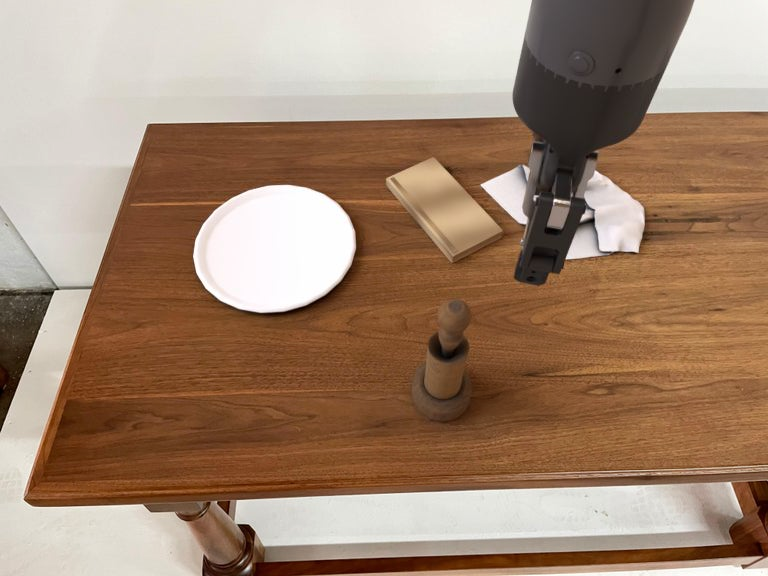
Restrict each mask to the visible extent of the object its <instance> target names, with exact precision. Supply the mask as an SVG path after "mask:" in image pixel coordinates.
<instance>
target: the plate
mask: <svg viewBox="0 0 768 576" xmlns="http://www.w3.org/2000/svg"><path fill="white" fill-rule="evenodd" d="M356 251H357V240H356V230H355V228H354V225H353V223H352V220H351V218H350V216H349V214H348V213H347V212H346V211H345V210H344V209H343V208H342V206H341V205H340V204H339V203H338V202H336V201H335V200H333V199H332V198H331V197H329V196H328V195H326V194H324V193H322V192H321V191H317V190H314V189H312V188H309V187H305V186H299V185H292V184H278V185H276V184H275V185H265V186H261V187H258V188H253V189H249V190H246V191H245V192H242V193H240V194H237V195H235V196H234V197H232V198H230V199H229V200H227V201H226V202H224V203H223V204H221V205H220V206H219V207H216V209H215V210H214V211H213V212H212V213H211V214H210V215H209V217H208V218H207V219H206V220H205V222H204V223H202V226H201V228H200V230H199V231H198V234H197V235H196V238H195V242H194V248H193V262H194V267H195V272H196V275H197V276H198V278H199V280H200V281H201V283H202V285H203V286H204V288H205V289H206V290H207V291H208V292H209V293H210V294H212V296H214V298H216V299H217V300H218V301H219V302H222V303H224V304H225V305H228V306H229V307H230V306H231V307H233V308H235V309H237V310H239V311H244V312H250V313H257V314H273V313H274V314H276V313H285V312H289V311H292V310H293V311H294V310H296V309H299V308H303V307H307V306H309V305H311V304H312V303H314V302H316V301H317V300H319V299H321V298H324V297H326V296H327V295H328V294H329V293H330V292H331V291H332V290H333V289H335V287H337V286H338V285H339V284H340V283H341V282H342V281H343V279H344V278H345V276H346V274H347V273H348V271H349V270H350V268H351V267H352V264H353V260H354V257H355V253H356Z"/></svg>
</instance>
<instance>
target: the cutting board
mask: <svg viewBox="0 0 768 576" xmlns="http://www.w3.org/2000/svg"><path fill="white" fill-rule="evenodd" d="M385 186H386V188H387V189H388V190H389V191H390V192H391V194H392V195H393V196H394V197H395V198H396V199H397V200H398V202H399V203H400V204H401V205H402V206H403V208H404V209H405V210H406V211H407V213H409V215H410V216H411V217H412V218H413V220H415V222H416V223H417V224H418V225H419V227H420V228H421V229H422V230H423V231H424V232H425V233H426V235H427V236H428V237H429V238H430V239H431V240H432V242H433V243H434V244H435V245H436V247H438V249H439V250H440V251H441V252H442V254H443V255H444V256H445V257H446V258H447V259H448V261H449V262H450V263H451V264H454V263H455V262H458V261H460V260H461V259H464V258H465V257H467V256H469V255H471V254H473V253H475V252H477V251H479V250H480V249H483V248H484V247H487V246H488V245H490V244H492V243H495V242H496V241H498V240H500V239H502V237H503V233H504V229H502V228H501V227H500V226H499V225H498V223H497V222H496V221H495V220H494V219H493V217H491V216H490V214H488V213H487V212H486V211H485V210H484V209H483V207H481V205H480V204H479V203H478V202H477V201H476V200H475V199H474V198H473V197H472V196H471V195H470V193H468V191H467V190H466V189H465V188H464V187H463V186H462V184H460V183H459V182H458V181H457V180H456V179H455V178H454V176H452V175H451V174H450V173H449V171H448V170H447V169H446V168H444V166H443V165H442V164H441V163H440V162H439V161H438V159H437V158H436V157H434V156H432V157H430V158H428V159H426V160H424V161H421V162H418V163H416V164H414V165H413V166H410V167H408V168H405V169H403V170H402V171H399V172H397V173H394V174H393V175H390V176H388V177H386V179H385Z"/></svg>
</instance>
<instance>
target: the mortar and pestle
mask: <svg viewBox="0 0 768 576" xmlns="http://www.w3.org/2000/svg"><path fill="white" fill-rule="evenodd" d="M436 316H437V317H436V318H437V322H438V325H439V326H440V328H439V330H437V331H435V332H434V333H433V334H432V335H431V336H430V337H429V339H428V343H427V351H426V361H425V362H423V363H422V364H421V365H420V366H419V367H418V368H417V369H416V371H415V372H414V374H413V377H412V381H411V389H410V390H411V391H410V392H411V398H412V402H413V404H414V407H415V408H416V409H417V411H418V412H419V414H421V415H422V416H423V417H424V418H427V419H429V420H431V421H433V422H434V421H435V422H441V423H445V422H451V421H454V420H456V419H458V418H459V417H461V416H462V415H463V414H464V413H465V412H466V410H467V409H468V407H469V405H470V401H471V397H472V393H473V384H472V380H471V377H470V376H469V373H468V371H466V370H465V369H466V363H467V360H468V357H469V352H470V343H469V341H468V339H467V337H466V336H465V334H464V332H465V331H466V330H467V329H468V328H469V326H470V324H471V322H472V319H473V315H472V310H471V307H470V306H469V305H468V303H467V302H465V301H464V300H461V299H459V298H450V299H447V300H445V301H444V302H443V303H442V304H441V305H440V306H439V308H438V310H437V315H436Z"/></svg>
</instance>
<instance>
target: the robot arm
mask: <svg viewBox="0 0 768 576" xmlns="http://www.w3.org/2000/svg"><path fill="white" fill-rule="evenodd" d="M694 3H695V0H531V3H530V8H529V11H528V17H527V22H526V27H525V31H524V36H523V40H522V41H523V42H522V44H521V45H522V46H521V50H520V56H519V60H518V64H517V65H518V66H517V69H516V75H515V79H514V84H513V87H512V105H513V108H514V111H515V113H516V115H517V117H518V118H519V120H520V121H521V122H522V124H524V126H526V127H527V128H528V129H529V130H530V132H532V134H531V136H532V142H531V146H530V150H529V155H528V159H527V167H528V168H529V169H530V173H529V178H528V182H527V187H526V191H525V196H524V200H523V205H522V209H523V213H524V215H525V216H526V217H527V218H528V219H527V223H526V225H525V228H524V232H523V237H520V241H519V246H521V247H520V251H519V254H518V257H517V260H516V263H515V267H514V272H513V273H514V274H513V279H514V280H515V281H517V282H519V283H520V284H521V283H522V284H527V285H532V286H537V287H540V286H543V285H545V284H546V283H547V280H548V277H549V275H550V274H555V275H560V274H561V272H562V270H564V268H565V261H566V260H565V259H566V256H567V254H568V251H569V249H570V246H571V244H572V241H573V238H574V236H575V233H576V231H577V228H578V226H579V223H580V220H581V218H582V215H583V214H585V211H586V205H585V199H584V194H585V190H586V186H587V182H588V181H589V180H590V179H591V178H592V177H593V176H594V172H595V171H596V167H597V164H598V161H599V160H598V159H599V154H600V152H599V150H601V149H604V148H608V147H611V146H613V145H617V144H619V143H621V142H624V141H625V140H627V139H628V138H630V137H631V136H632V135H633V134H634V133H636V131H637V130H638V129H639V128H640V126H641V125H642V123H643V121H644V119H645V116H646V114H647V113H648V111H649V108H650V105H651V103H652V101H653V99H654V96H655V94H656V92H657V89H658V87H659V86H660V83H661V81H662V79H663V76H664V74H665V72H666V70H667V67H668V65H669V63H670V60H671V58H672V56H673V53H674V52H675V49H676V47H677V45H678V42H679V41H680V38H681V36H682V35H683V31H684V29H685V27H686V25H687V22H688V21H689V18H690V16H691V13H692V10H693V6H694ZM573 190H574V192H573V196H572V197H571V192H572V191H573ZM534 195H537V196H539V197H536V200H535V201H534Z"/></svg>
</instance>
